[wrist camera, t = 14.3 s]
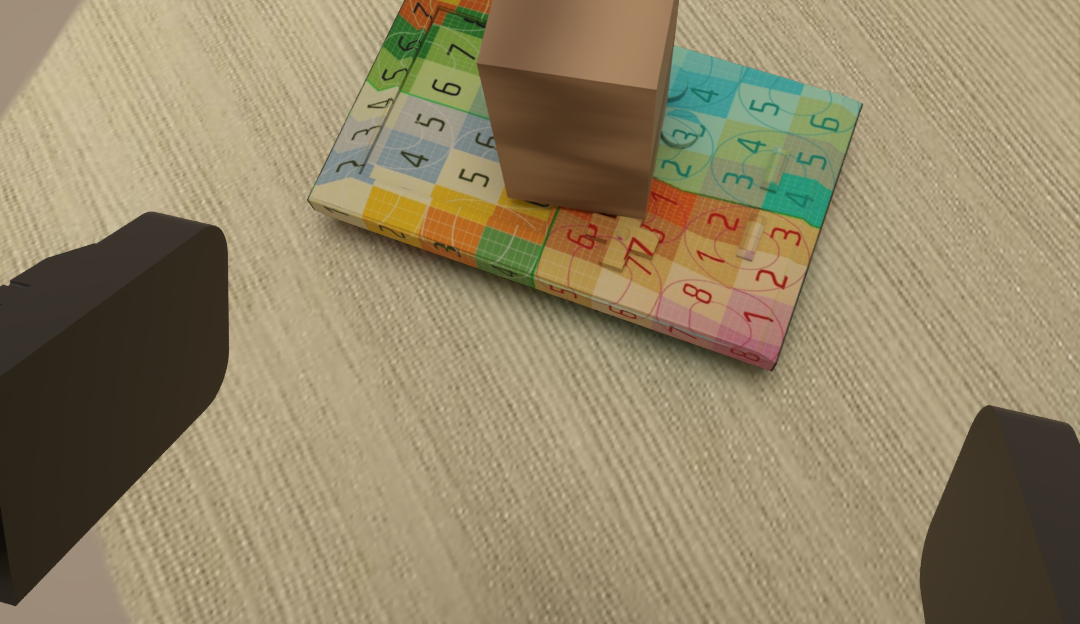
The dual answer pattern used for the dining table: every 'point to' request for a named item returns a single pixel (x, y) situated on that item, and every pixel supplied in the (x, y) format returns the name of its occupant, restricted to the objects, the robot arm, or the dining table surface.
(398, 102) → the puzzle game
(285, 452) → the dining table surface
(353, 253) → the dining table surface
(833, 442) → the dining table surface
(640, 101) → the walnut block
